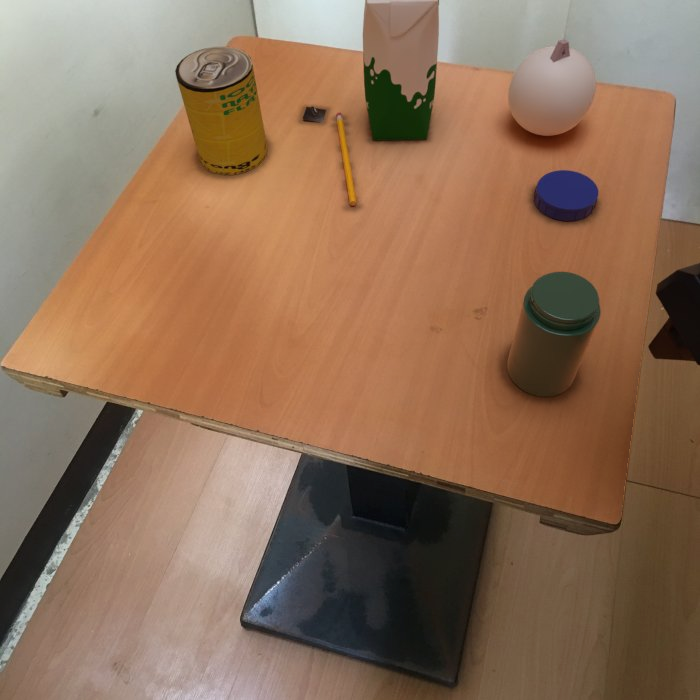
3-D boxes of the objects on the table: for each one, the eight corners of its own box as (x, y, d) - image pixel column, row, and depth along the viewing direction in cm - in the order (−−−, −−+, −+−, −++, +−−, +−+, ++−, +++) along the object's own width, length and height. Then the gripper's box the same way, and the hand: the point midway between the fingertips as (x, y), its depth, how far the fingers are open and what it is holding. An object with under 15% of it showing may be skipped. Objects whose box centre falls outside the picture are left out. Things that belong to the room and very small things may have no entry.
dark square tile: (326, 110, 89) (326, 102, 88) (322, 123, 88) (322, 115, 87) (306, 106, 90) (306, 99, 89) (301, 119, 88) (301, 112, 87)
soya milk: (434, 144, 84) (445, -18, 68) (364, 145, 84) (359, -15, 68) (431, 105, 89) (441, -54, 73) (366, 106, 90) (361, -51, 73)
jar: (565, 340, 64) (593, 264, 55) (581, 395, 60) (615, 322, 52) (501, 344, 64) (519, 269, 55) (513, 399, 60) (535, 327, 52)
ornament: (555, 161, 81) (578, 71, 71) (488, 130, 85) (501, 42, 75) (598, 123, 85) (625, 33, 75) (531, 95, 89) (549, 7, 79)
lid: (607, 202, 76) (612, 190, 74) (567, 230, 73) (571, 218, 72) (561, 174, 79) (564, 161, 78) (521, 199, 77) (523, 187, 75)
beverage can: (274, 133, 87) (260, 47, 77) (258, 177, 81) (241, 90, 72) (210, 130, 88) (188, 45, 78) (191, 172, 83) (164, 87, 73)
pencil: (342, 116, 88) (341, 112, 88) (356, 205, 77) (356, 200, 77) (336, 117, 88) (335, 112, 87) (350, 206, 77) (349, 201, 77)
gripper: (905, 92, 42) (721, 225, 56) (705, 136, 35) (553, 275, 49) (1019, 236, 39) (794, 339, 52) (824, 314, 32) (626, 408, 46)
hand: (695, 336), depth 50 cm, fingers open, 9 cm apart
